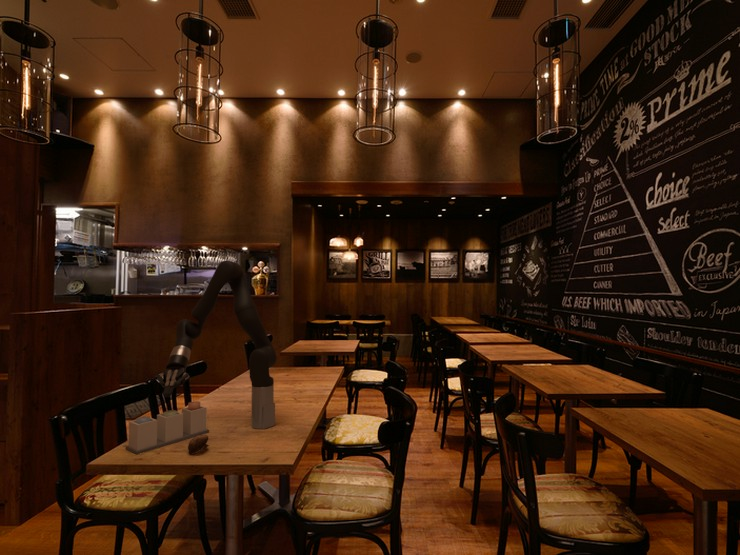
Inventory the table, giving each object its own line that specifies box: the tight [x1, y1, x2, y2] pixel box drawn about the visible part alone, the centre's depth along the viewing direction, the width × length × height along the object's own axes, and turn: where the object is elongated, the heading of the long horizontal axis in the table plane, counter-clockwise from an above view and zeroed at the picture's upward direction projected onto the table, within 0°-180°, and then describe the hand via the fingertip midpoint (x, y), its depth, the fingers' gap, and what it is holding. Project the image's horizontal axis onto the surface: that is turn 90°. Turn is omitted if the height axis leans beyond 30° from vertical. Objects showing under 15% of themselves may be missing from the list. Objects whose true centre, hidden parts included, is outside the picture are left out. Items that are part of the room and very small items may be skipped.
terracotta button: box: [187, 400, 201, 411], centre depth 163 cm, size 5×5×3 cm
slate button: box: [135, 415, 151, 424], centre depth 146 cm, size 5×5×3 cm
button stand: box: [125, 405, 210, 455], centre depth 154 cm, size 9×28×10 cm, turn 144°
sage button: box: [162, 409, 178, 417], centre depth 154 cm, size 5×5×3 cm
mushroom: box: [187, 434, 210, 455], centre depth 143 cm, size 8×8×6 cm
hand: (166, 396), depth 152 cm, fingers closed
